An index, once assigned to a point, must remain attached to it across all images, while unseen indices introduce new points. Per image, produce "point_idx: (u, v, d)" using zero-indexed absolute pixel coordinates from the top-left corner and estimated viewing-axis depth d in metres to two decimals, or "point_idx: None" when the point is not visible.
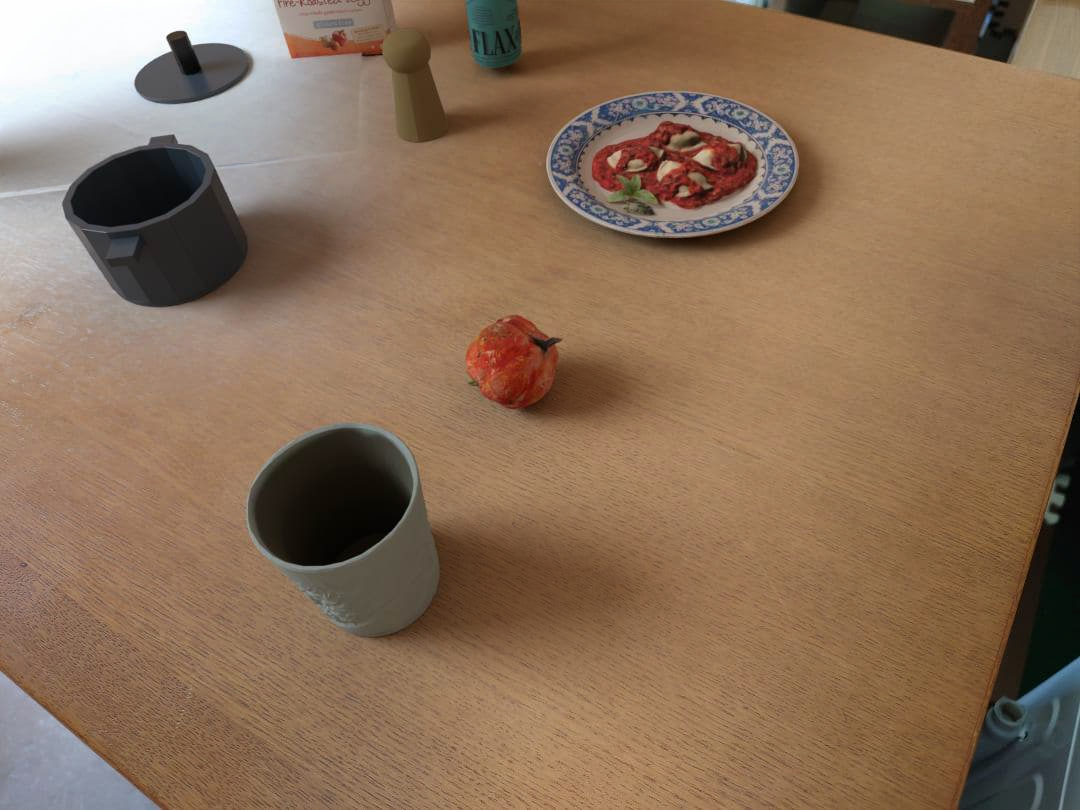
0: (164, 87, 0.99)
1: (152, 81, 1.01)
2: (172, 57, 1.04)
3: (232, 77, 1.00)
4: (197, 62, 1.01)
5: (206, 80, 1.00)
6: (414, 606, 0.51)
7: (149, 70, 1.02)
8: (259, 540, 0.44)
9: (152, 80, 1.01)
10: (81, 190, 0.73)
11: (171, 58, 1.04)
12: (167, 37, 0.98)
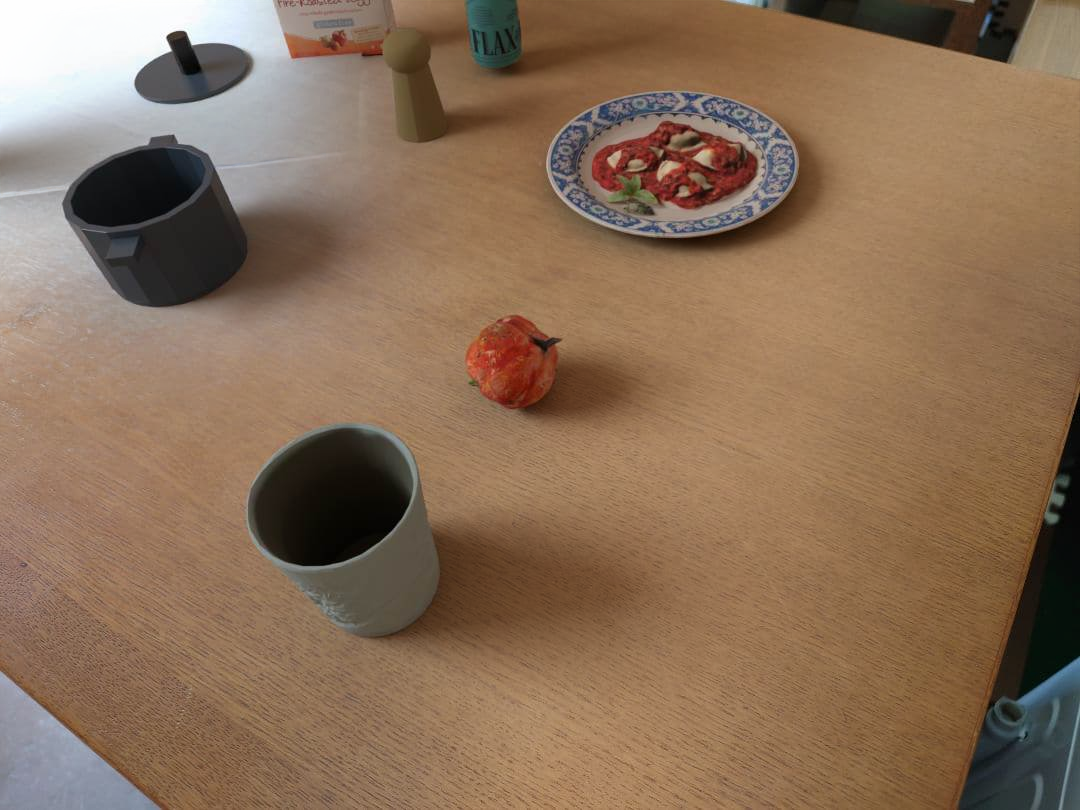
0: (164, 87, 0.99)
1: (152, 81, 1.01)
2: (172, 57, 1.04)
3: (232, 77, 1.00)
4: (197, 62, 1.01)
5: (206, 80, 1.00)
6: (414, 606, 0.51)
7: (149, 70, 1.02)
8: (259, 540, 0.44)
9: (152, 80, 1.01)
10: (81, 190, 0.73)
11: (171, 58, 1.04)
12: (167, 37, 0.98)
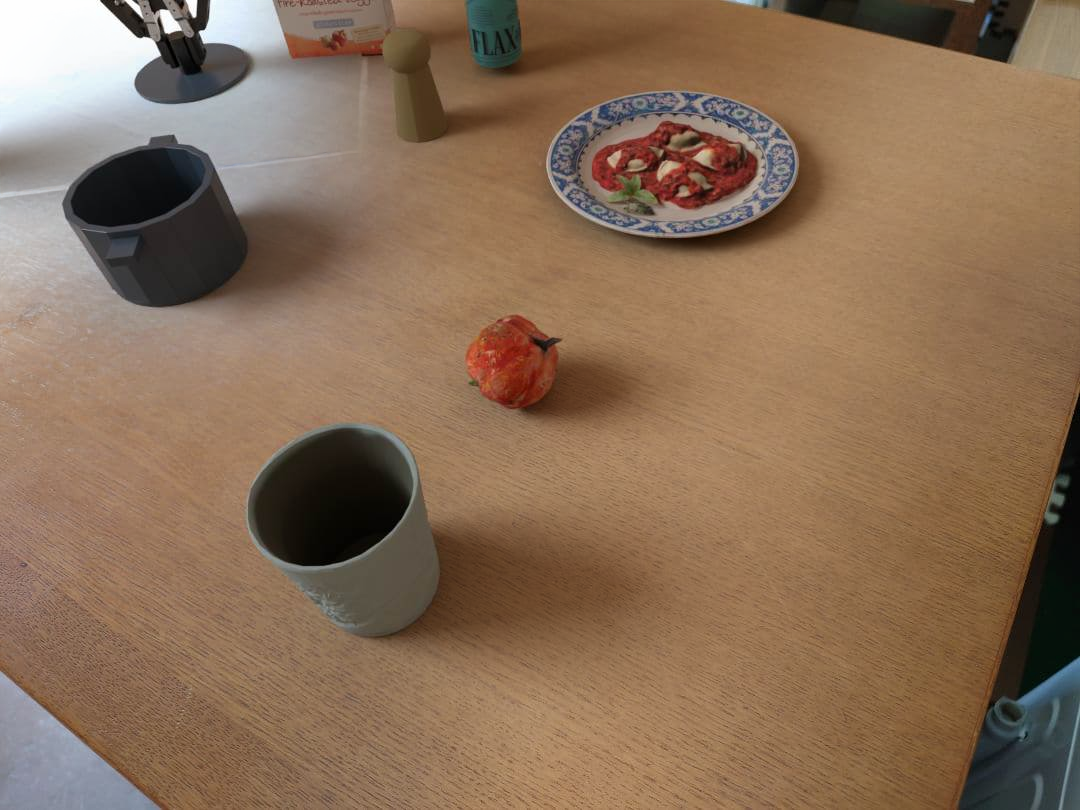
0: (164, 87, 0.99)
1: (152, 81, 1.01)
2: None
3: (232, 77, 1.00)
4: None
5: (206, 80, 1.00)
6: (414, 606, 0.51)
7: (149, 70, 1.02)
8: (259, 540, 0.44)
9: (152, 80, 1.01)
10: (81, 190, 0.73)
11: None
12: (167, 37, 0.98)
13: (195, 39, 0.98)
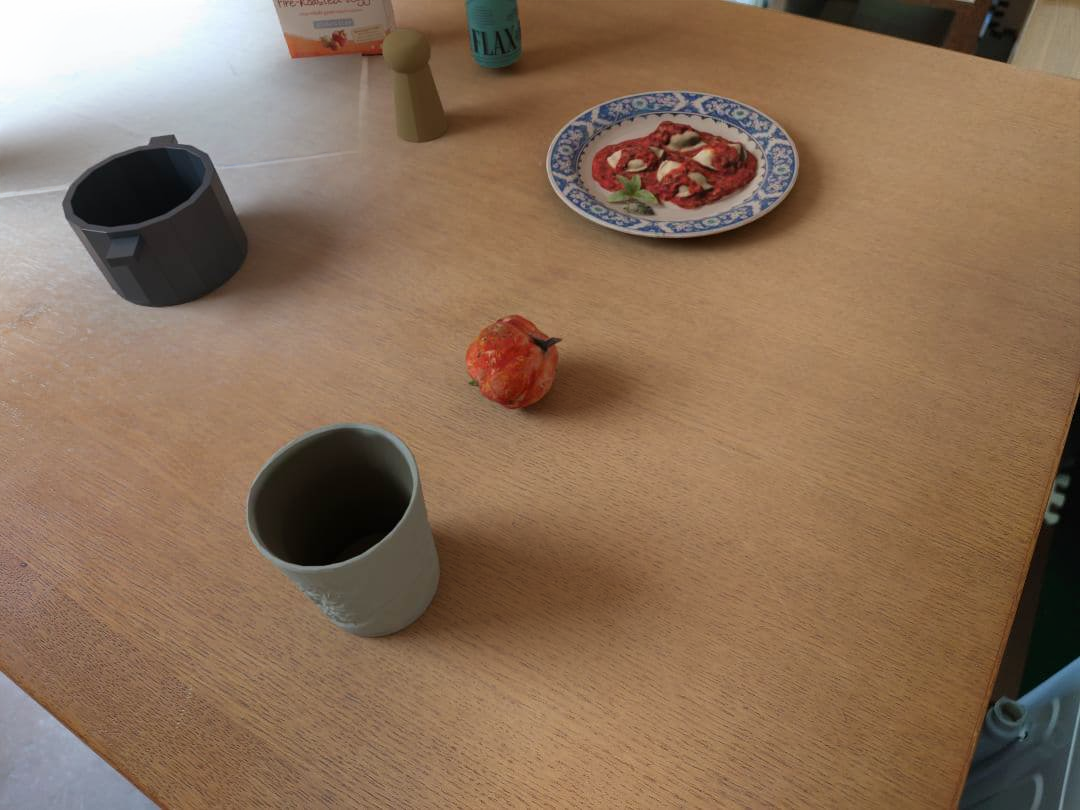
0: None
1: None
2: None
3: None
4: None
5: None
6: (414, 606, 0.51)
7: None
8: (259, 540, 0.44)
9: None
10: (81, 190, 0.73)
11: None
12: None
13: None
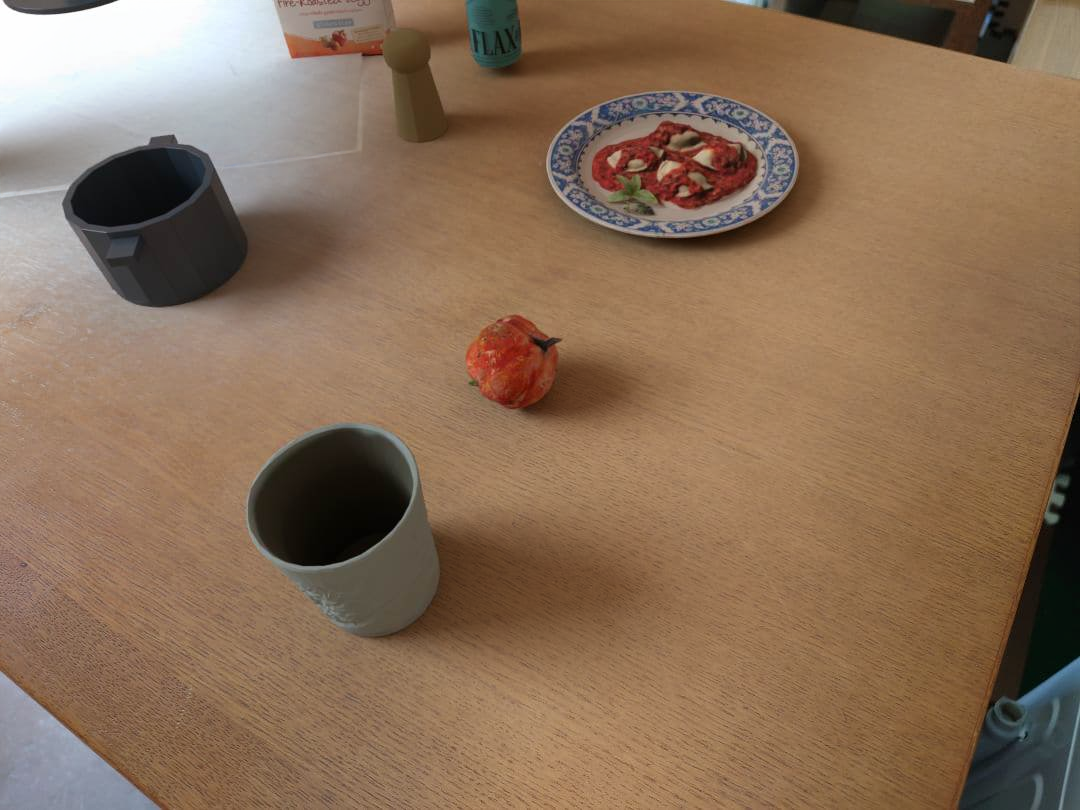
0: None
1: None
2: None
3: None
4: None
5: None
6: (414, 606, 0.51)
7: None
8: (259, 540, 0.44)
9: None
10: (81, 190, 0.73)
11: None
12: None
13: None
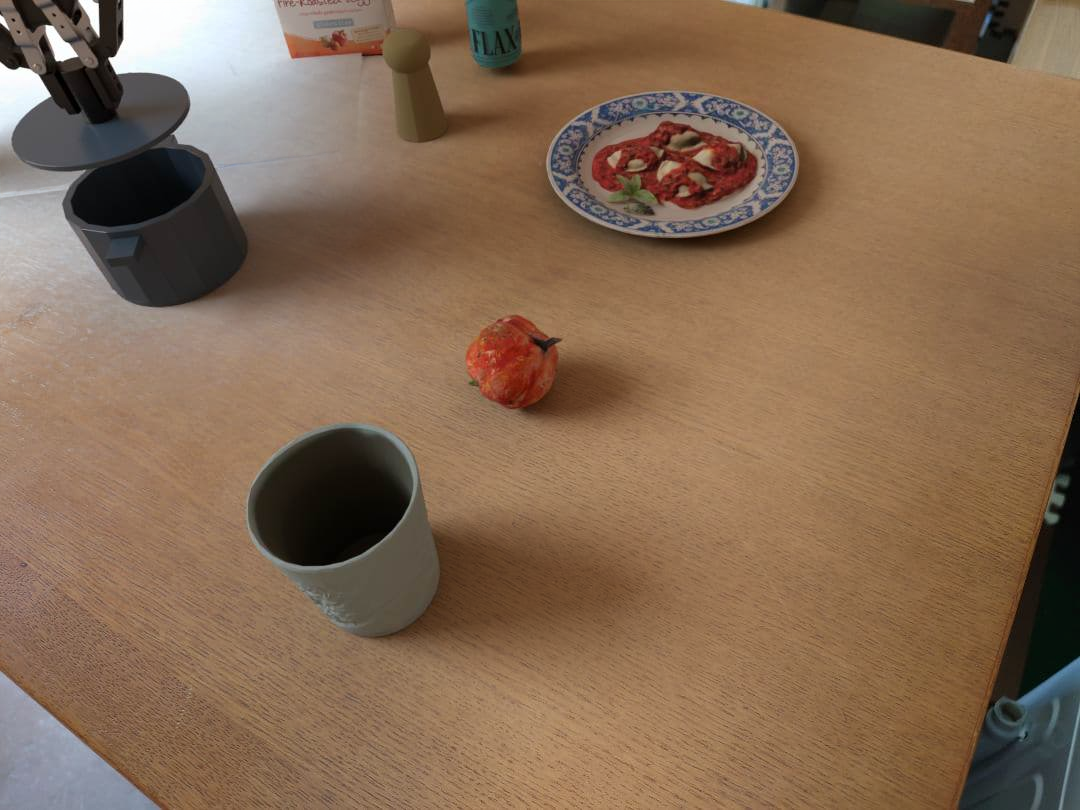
0: (56, 144, 0.64)
1: (39, 134, 0.65)
2: None
3: (162, 128, 0.64)
4: None
5: (122, 134, 0.64)
6: (414, 606, 0.51)
7: (38, 116, 0.67)
8: (259, 540, 0.44)
9: (39, 132, 0.65)
10: (81, 190, 0.73)
11: None
12: (58, 67, 0.63)
13: (102, 71, 0.63)
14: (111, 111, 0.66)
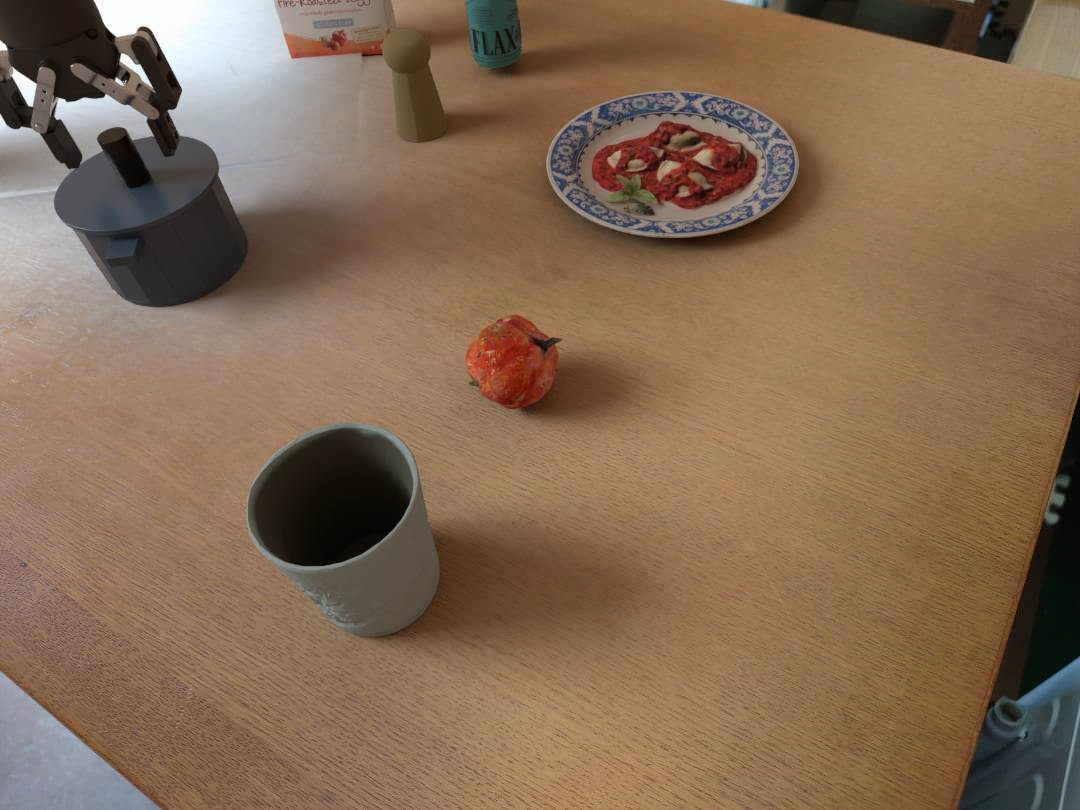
0: (96, 208, 0.69)
1: (80, 197, 0.70)
2: None
3: (194, 193, 0.69)
4: (144, 170, 0.70)
5: (157, 198, 0.69)
6: (414, 606, 0.51)
7: (77, 179, 0.72)
8: (259, 540, 0.44)
9: (79, 195, 0.70)
10: None
11: None
12: (98, 138, 0.68)
13: (162, 121, 0.67)
14: (146, 176, 0.71)
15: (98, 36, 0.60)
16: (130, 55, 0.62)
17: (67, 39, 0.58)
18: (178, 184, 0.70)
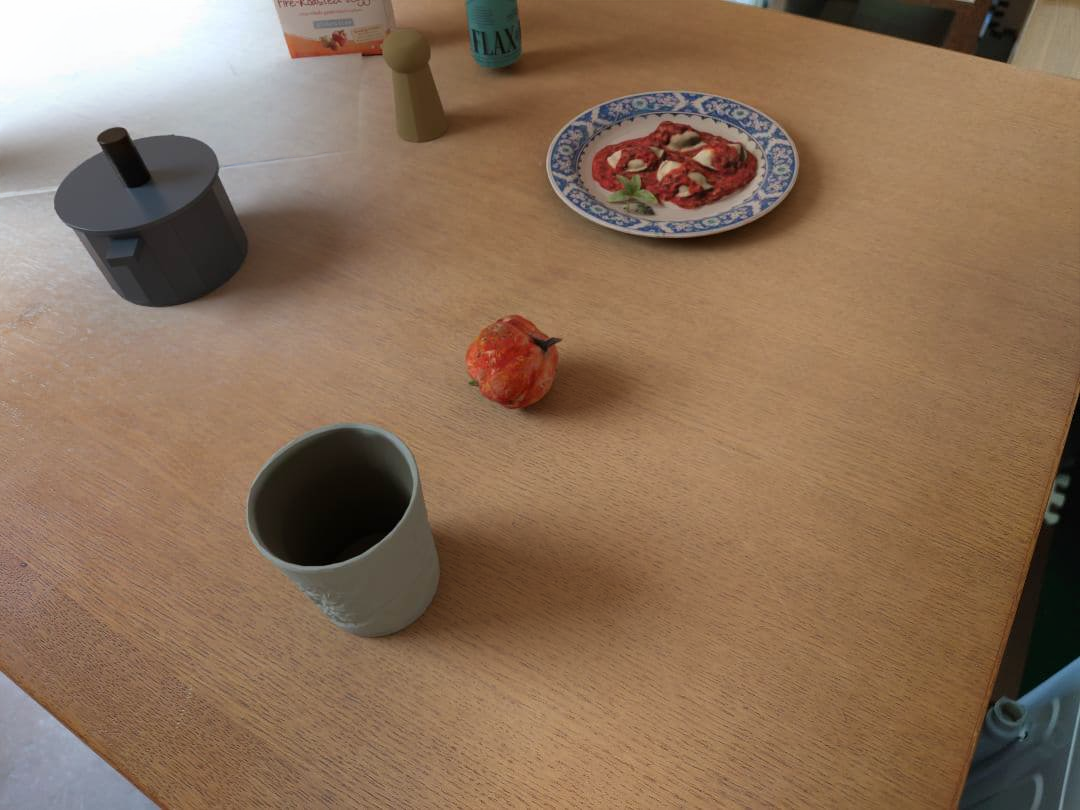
0: (96, 208, 0.69)
1: (80, 197, 0.70)
2: None
3: (194, 193, 0.69)
4: (144, 170, 0.70)
5: (157, 198, 0.69)
6: (414, 606, 0.51)
7: (77, 179, 0.72)
8: (259, 540, 0.44)
9: (79, 195, 0.70)
10: None
11: None
12: (98, 138, 0.68)
13: None
14: (146, 176, 0.71)
15: None
16: None
17: None
18: (178, 184, 0.70)
